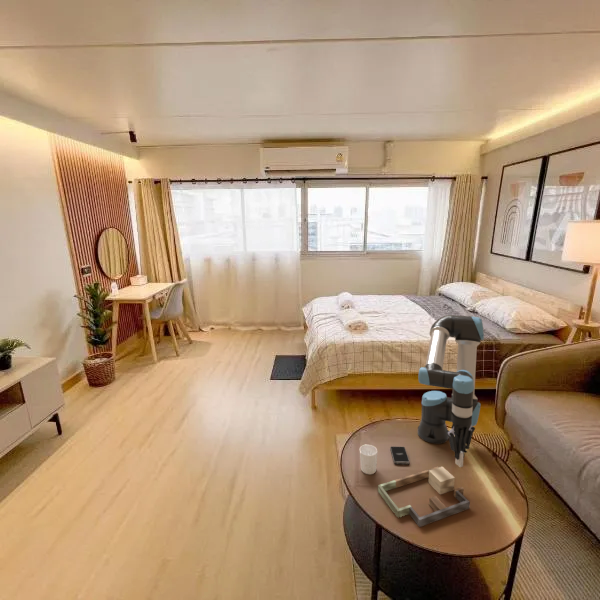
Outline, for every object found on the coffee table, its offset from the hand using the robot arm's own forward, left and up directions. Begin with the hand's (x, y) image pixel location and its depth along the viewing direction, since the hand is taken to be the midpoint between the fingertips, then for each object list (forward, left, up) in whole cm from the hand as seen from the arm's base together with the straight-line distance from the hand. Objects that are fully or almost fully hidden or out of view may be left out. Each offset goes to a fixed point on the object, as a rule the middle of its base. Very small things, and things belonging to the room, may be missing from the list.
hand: (459, 464), depth 138 cm
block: (+9, 0, -8) cm, 12 cm away
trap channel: (+19, +3, -8) cm, 21 cm away
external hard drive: (+14, -22, -9) cm, 28 cm away
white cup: (+32, -20, -8) cm, 39 cm away
